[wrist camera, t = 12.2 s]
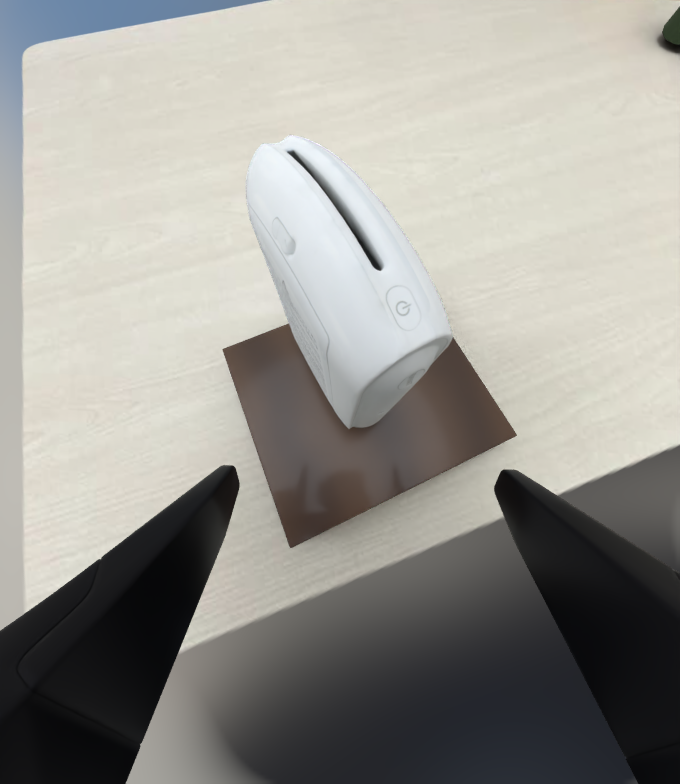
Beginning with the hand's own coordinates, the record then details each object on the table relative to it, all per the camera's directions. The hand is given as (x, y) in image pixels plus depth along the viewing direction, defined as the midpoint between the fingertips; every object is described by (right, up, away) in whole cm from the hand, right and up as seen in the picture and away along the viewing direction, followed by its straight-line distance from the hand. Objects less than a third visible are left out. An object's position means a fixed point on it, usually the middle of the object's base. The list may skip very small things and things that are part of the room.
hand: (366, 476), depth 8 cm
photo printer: (-1, +5, +10) cm, 11 cm away
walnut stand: (+1, +2, +12) cm, 12 cm away
